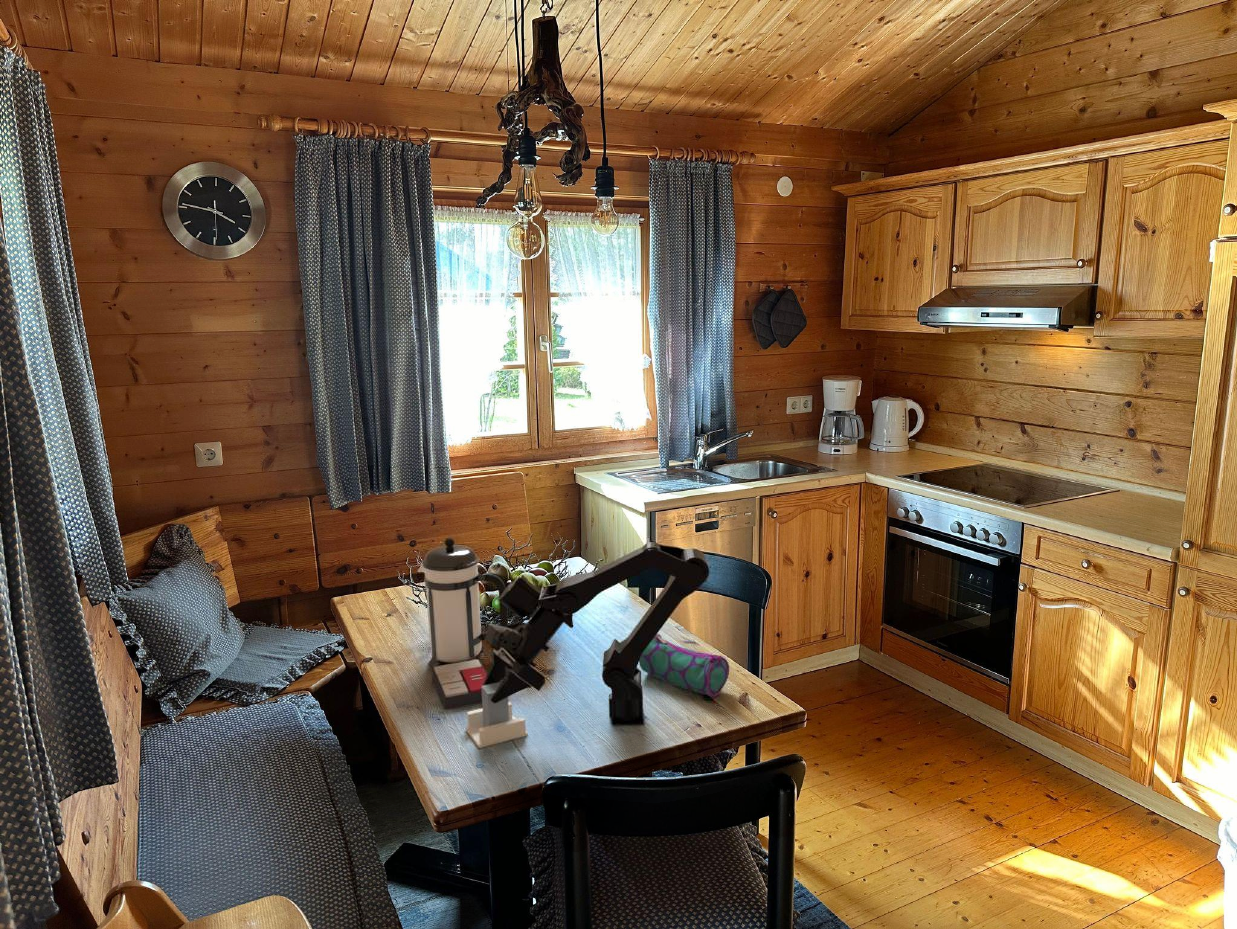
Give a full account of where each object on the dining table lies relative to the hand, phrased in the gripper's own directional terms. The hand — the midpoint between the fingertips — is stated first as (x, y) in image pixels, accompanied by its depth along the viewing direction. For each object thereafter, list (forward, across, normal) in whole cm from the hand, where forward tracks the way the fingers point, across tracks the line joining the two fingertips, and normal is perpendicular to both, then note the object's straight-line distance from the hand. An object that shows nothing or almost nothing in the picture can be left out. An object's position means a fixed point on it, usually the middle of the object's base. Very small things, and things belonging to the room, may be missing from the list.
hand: (487, 696), depth 172 cm
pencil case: (-26, -1, +38) cm, 46 cm away
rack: (+5, 0, +7) cm, 8 cm away
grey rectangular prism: (+4, 0, +6) cm, 8 cm away
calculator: (+5, -22, +7) cm, 23 cm away
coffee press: (+2, -38, +10) cm, 39 cm away
